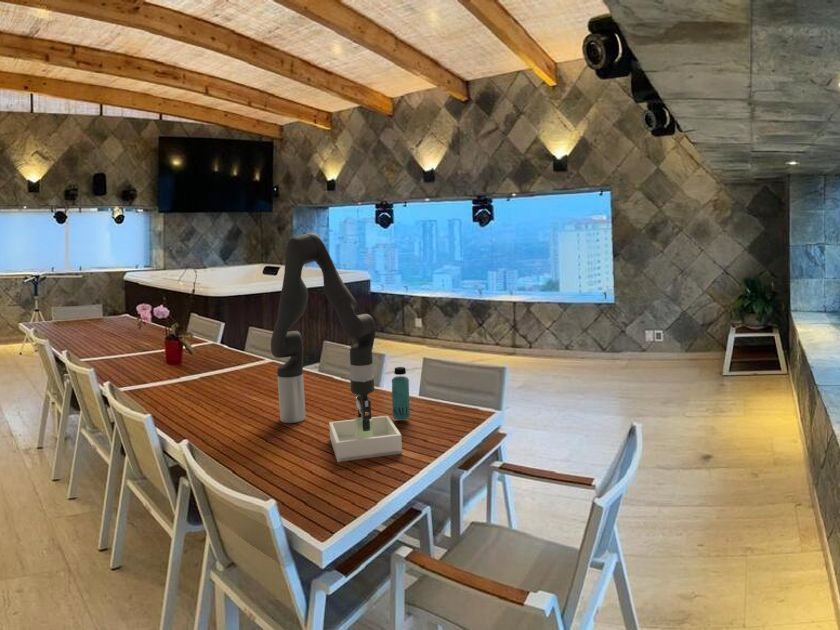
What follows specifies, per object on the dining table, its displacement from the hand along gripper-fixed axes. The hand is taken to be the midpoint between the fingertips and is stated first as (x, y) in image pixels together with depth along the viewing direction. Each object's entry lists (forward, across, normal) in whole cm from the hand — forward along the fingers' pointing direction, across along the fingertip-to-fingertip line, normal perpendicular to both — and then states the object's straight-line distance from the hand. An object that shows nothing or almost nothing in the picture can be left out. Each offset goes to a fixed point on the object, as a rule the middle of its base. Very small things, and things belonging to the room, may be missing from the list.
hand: (364, 426), depth 181 cm
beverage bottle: (+7, -20, +17) cm, 27 cm away
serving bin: (+7, 0, 0) cm, 7 cm away
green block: (+6, 0, 0) cm, 6 cm away
